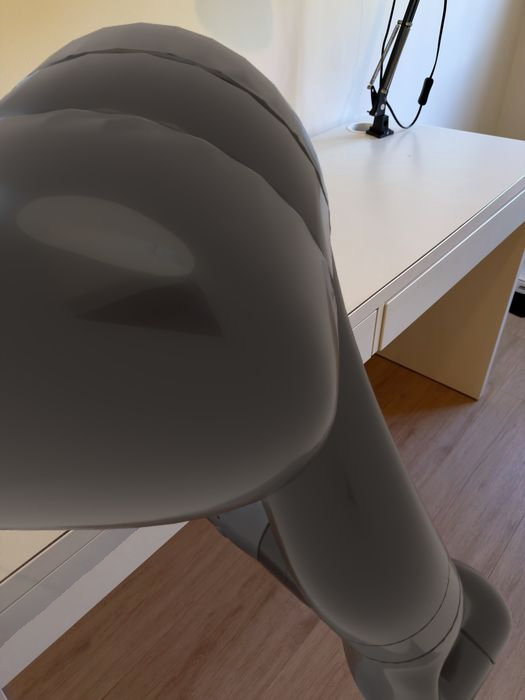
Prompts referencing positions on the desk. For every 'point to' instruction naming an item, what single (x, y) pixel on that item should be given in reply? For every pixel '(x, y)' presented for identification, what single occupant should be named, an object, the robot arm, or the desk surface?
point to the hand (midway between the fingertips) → (134, 396)
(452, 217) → the desk surface
